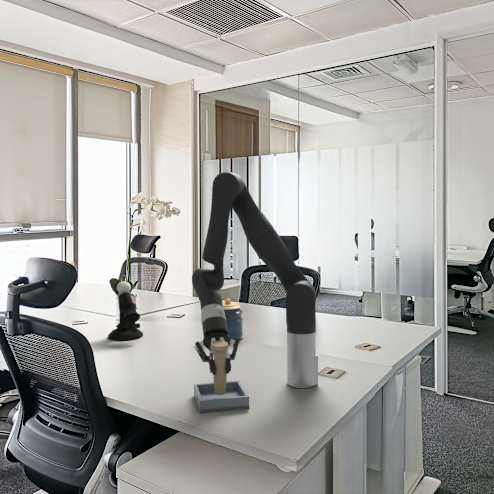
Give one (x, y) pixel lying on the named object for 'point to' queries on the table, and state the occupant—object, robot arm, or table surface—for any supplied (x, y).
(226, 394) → the tray
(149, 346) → the table surface
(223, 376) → the beige club-shaped piece
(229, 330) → the canister
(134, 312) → the sculpture
